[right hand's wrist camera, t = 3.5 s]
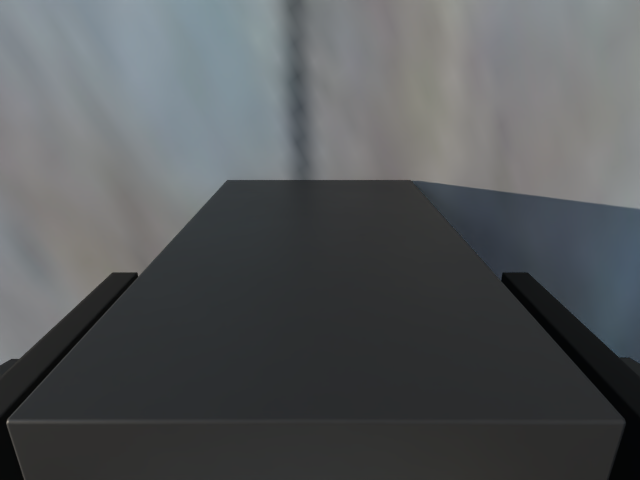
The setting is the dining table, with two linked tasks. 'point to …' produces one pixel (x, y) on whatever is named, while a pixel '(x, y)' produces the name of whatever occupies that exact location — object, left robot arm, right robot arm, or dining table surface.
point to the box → (316, 356)
